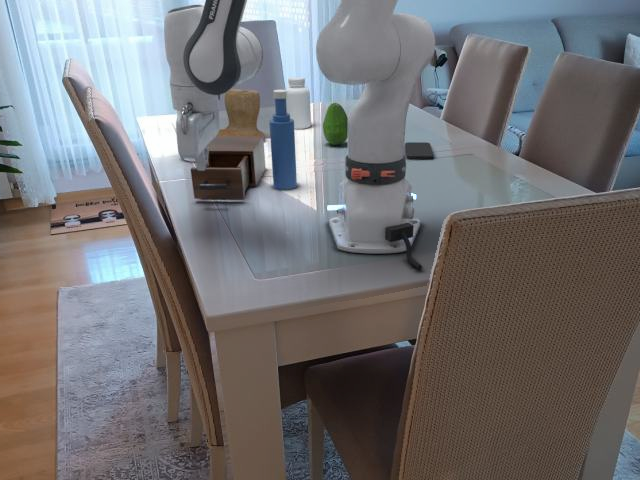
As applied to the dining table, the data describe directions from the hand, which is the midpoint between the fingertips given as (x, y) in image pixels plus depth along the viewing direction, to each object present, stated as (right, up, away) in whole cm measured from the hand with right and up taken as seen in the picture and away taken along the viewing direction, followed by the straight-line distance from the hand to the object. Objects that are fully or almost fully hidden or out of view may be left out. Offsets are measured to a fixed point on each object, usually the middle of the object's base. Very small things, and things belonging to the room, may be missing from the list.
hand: (203, 168), depth 132 cm
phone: (+50, +19, +50) cm, 74 cm away
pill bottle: (+14, +36, +79) cm, 88 cm away
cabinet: (+2, +6, +30) cm, 31 cm away
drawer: (+1, -1, +17) cm, 17 cm away
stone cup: (-3, +26, +64) cm, 69 cm away
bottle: (+15, +2, +24) cm, 28 cm away
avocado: (+27, +23, +58) cm, 68 cm away
